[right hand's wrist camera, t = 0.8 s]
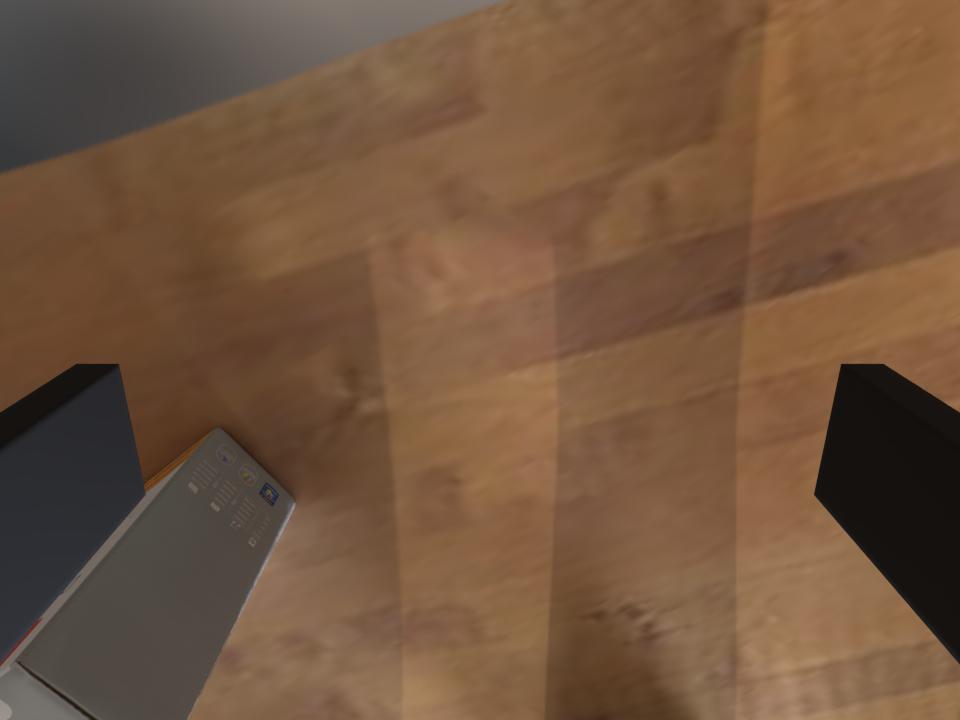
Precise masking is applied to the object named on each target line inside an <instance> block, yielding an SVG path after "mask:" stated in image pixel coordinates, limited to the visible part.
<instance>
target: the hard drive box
mask: <svg viewBox="0 0 960 720" xmlns="http://www.w3.org/2000/svg"><path fill="white" fill-rule="evenodd" d="M144 488H145V493H146V495H145V496H144V498H143V499H142V500H141V501H140V502H139V503H138V505H137V506H136V507H135V508H134V509H133V510H132V512H131V513H130V514H129V515H128V516H127V517H126V519H125V520H124V521H123V522H122V523H121V524H120V526H119V527H118V528H117V529H116V530H115V531H114V532H113V534H112V535H111V536H110V537H109V538H108V539H107V541H106V542H105V543H104V544H103V545H102V546H101V548H100V549H99V550H98V551H97V552H96V553H95V555H94V556H93V557H92V558H91V559H90V560H89V562H88V563H87V564H86V565H85V566H84V567H83V569H82V570H81V571H80V572H79V573H78V574H77V576H76V577H75V578H74V579H73V580H72V581H71V582H70V584H69V585H68V586H67V587H66V588H65V589H64V591H63V592H62V593H61V594H60V595H59V596H58V598H57V599H56V600H55V601H54V602H53V603H52V605H51V606H50V607H49V608H48V609H47V610H46V612H45V613H44V614H43V615H42V616H41V617H40V619H39V620H38V621H37V622H36V623H35V624H34V625H33V627H32V628H31V629H30V630H29V631H28V632H27V634H26V635H25V636H24V637H23V638H22V639H21V641H20V642H19V643H18V644H17V645H16V646H15V648H14V649H13V650H12V651H11V652H10V653H9V655H8V656H7V657H6V658H5V659H4V660H3V662H2V663H1V664H0V720H188V719H189V717H190V715H191V713H192V711H193V709H194V707H195V705H196V703H197V701H198V699H199V697H200V695H201V693H202V691H203V689H204V687H205V685H206V683H207V681H208V679H209V677H210V675H211V673H212V671H213V669H214V667H215V665H216V663H217V661H218V659H219V657H220V655H221V653H222V651H223V649H224V647H225V645H226V643H227V641H228V639H229V637H230V635H231V633H232V631H233V629H234V627H235V625H236V623H237V621H238V619H239V617H240V615H241V613H242V611H243V609H244V607H245V605H246V603H247V601H248V599H249V597H250V595H251V593H252V591H253V589H254V587H255V585H256V583H257V581H258V579H259V577H260V575H261V573H262V571H263V569H264V567H265V565H266V563H267V561H268V559H269V557H270V555H271V553H272V551H273V549H274V547H275V545H276V543H277V541H278V540H279V538H280V536H281V534H282V532H283V530H284V528H285V526H286V524H287V522H288V520H289V518H290V516H291V513H292V511H293V509H294V507H295V503H294V498H293V497H292V496H291V495H290V494H289V493H288V492H287V491H286V490H285V489H284V488H283V487H282V486H281V485H280V484H278V483H277V482H276V481H275V480H274V479H273V478H272V477H271V476H270V475H269V474H268V473H267V472H266V471H265V470H264V469H263V468H262V467H261V466H260V465H259V464H258V463H257V462H256V461H255V460H254V459H253V458H251V457H250V456H249V455H248V454H247V453H246V452H245V451H244V450H243V449H242V448H241V447H240V446H239V445H238V444H237V443H236V442H235V441H234V440H233V439H232V438H231V437H230V436H229V435H228V434H227V433H226V432H224V431H223V430H222V429H221V428H219V427H217V428H215V429H214V430H212V431H211V432H209V433H208V434H207V435H206V436H204V437H203V438H202V439H200V440H199V441H198V442H197V443H195V444H194V445H193V446H192V447H191V448H189V449H188V450H187V451H185V452H184V453H183V454H182V455H180V456H179V457H178V458H177V459H175V460H174V461H173V462H172V463H170V464H169V465H168V466H166V467H165V468H164V469H163V470H161V471H160V472H159V473H158V474H156V475H155V476H154V477H152V478H151V479H150V480H149V481H147V482H146V483H145V484H144Z"/></svg>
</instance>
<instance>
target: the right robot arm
mask: <svg viewBox="0 0 960 720" xmlns="http://www.w3.org/2000/svg"><path fill="white" fill-rule="evenodd" d="M145 495H146V493H145V488H144V483H143V478H142V473H141V468H140V464H139V459H138V454H137V449H136V444H135V440H134V435H133V430H132V425H131V420H130V416H129V411H128V406H127V401H126V396H125V392H124V387H123V382H122V377H121V372H120V368H119V364H76V365H74V366H73V367H71V368H69V369H68V370H66V371H65V372H63V373H62V374H60V375H58V376H57V377H55V378H54V379H52V380H51V381H49V382H48V383H46V384H44V385H43V386H41V387H40V388H38V389H37V390H35V391H33V392H32V393H30V394H29V395H27V396H26V397H24V398H22V399H21V400H19V401H18V402H16V403H15V404H13V405H11V406H10V407H8V408H7V409H5V410H4V411H2V412H1V413H0V664H1V663H2V662H3V660H4V659H5V658H6V657H7V656H8V655H9V653H10V652H11V651H12V650H13V649H14V648H15V646H16V645H17V644H18V643H19V642H20V641H21V639H22V638H23V637H24V636H25V635H26V634H27V632H28V631H29V630H30V629H31V628H32V627H33V625H34V624H35V623H36V622H37V621H38V620H39V619H40V617H41V616H42V615H43V614H44V613H45V612H46V610H47V609H48V608H49V607H50V606H51V605H52V603H53V602H54V601H55V600H56V599H57V598H58V596H59V595H60V594H61V593H62V592H63V591H64V589H65V588H66V587H67V586H68V585H69V584H70V582H71V581H72V580H73V579H74V578H75V577H76V576H77V574H78V573H79V572H80V571H81V570H82V569H83V567H84V566H85V565H86V564H87V563H88V562H89V560H90V559H91V558H92V557H93V556H94V555H95V553H96V552H97V551H98V550H99V549H100V548H101V546H102V545H103V544H104V543H105V542H106V541H107V539H108V538H109V537H110V536H111V535H112V534H113V532H114V531H115V530H116V529H117V528H118V527H119V526H120V524H121V523H122V522H123V521H124V520H125V519H126V517H127V516H128V515H129V514H130V513H131V512H132V510H133V509H134V508H135V507H136V506H137V505H138V503H139V502H140V501H141V500H142V499H143V498H144V496H145ZM814 495H815V496H816V498H817V499H818V500H819V501H820V502H821V503H822V505H823V506H824V507H825V508H826V509H827V510H828V512H829V513H830V514H831V515H832V516H833V517H834V519H835V520H836V521H837V522H838V523H839V524H840V526H841V527H842V528H843V529H844V530H845V531H846V532H847V534H848V535H849V536H850V537H851V538H852V539H853V541H854V542H855V543H856V544H857V545H858V546H859V548H860V549H861V550H862V551H863V552H864V553H865V555H866V556H867V557H868V558H869V559H870V560H871V562H872V563H873V564H874V565H875V566H876V567H877V569H878V570H879V571H880V572H881V573H882V574H883V576H884V577H885V578H886V579H887V580H888V581H889V582H890V584H891V585H892V586H893V587H894V588H895V589H896V591H897V592H898V593H899V594H900V595H901V596H902V598H903V599H904V600H905V601H906V602H907V603H908V605H909V606H910V607H911V608H912V609H913V610H914V612H915V613H916V614H917V615H918V616H919V617H920V619H921V620H922V621H923V622H924V623H925V624H926V625H927V627H928V628H929V629H930V630H931V631H932V632H933V634H934V635H935V636H936V637H937V638H938V639H939V641H940V642H941V643H942V644H943V645H944V646H945V648H946V649H947V650H948V651H949V652H950V653H951V655H952V656H953V657H954V658H955V659H956V660H957V662H958V663H959V664H960V413H959V412H958V411H956V410H955V409H953V408H952V407H950V406H949V405H947V404H945V403H944V402H942V401H941V400H939V399H938V398H936V397H934V396H933V395H931V394H930V393H928V392H927V391H925V390H923V389H922V388H920V387H919V386H917V385H916V384H914V383H912V382H911V381H909V380H908V379H906V378H905V377H903V376H902V375H900V374H898V373H897V372H895V371H894V370H892V369H891V368H889V367H887V366H886V365H884V364H841V368H840V372H839V377H838V382H837V387H836V392H835V396H834V401H833V406H832V411H831V416H830V420H829V425H828V430H827V435H826V440H825V444H824V449H823V454H822V459H821V464H820V468H819V473H818V478H817V483H816V488H815V493H814Z"/></svg>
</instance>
